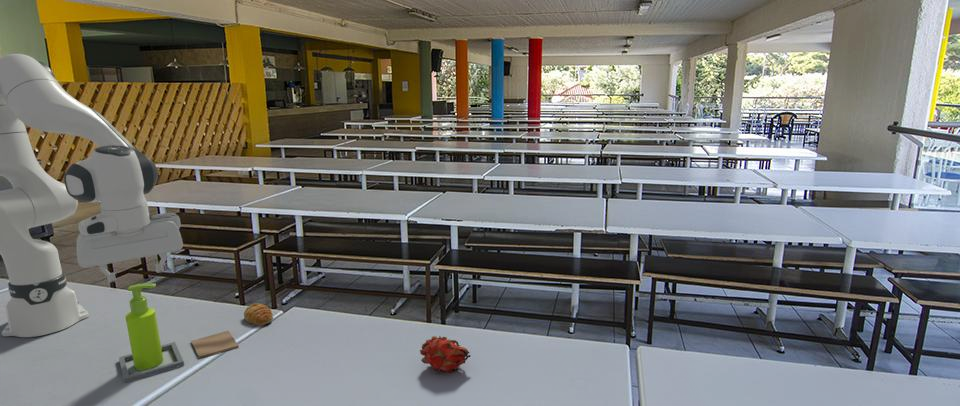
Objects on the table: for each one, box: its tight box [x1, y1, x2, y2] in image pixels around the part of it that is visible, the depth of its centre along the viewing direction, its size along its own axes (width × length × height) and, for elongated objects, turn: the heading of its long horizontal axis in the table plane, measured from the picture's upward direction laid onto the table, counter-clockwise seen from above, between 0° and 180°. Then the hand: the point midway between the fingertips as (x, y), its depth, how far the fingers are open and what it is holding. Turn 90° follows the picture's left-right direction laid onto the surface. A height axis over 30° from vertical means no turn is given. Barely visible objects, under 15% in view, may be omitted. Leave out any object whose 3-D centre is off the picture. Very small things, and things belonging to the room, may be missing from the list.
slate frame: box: [118, 341, 185, 384], centre depth 127 cm, size 12×12×1 cm
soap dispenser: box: [125, 282, 164, 371], centre depth 125 cm, size 6×7×20 cm
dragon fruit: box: [419, 335, 471, 374], centre depth 123 cm, size 8×8×12 cm
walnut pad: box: [190, 330, 239, 359], centre depth 136 cm, size 10×9×1 cm
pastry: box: [243, 302, 274, 326], centre depth 149 cm, size 9×7×4 cm
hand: (136, 276), depth 122 cm, fingers open, 8 cm apart
